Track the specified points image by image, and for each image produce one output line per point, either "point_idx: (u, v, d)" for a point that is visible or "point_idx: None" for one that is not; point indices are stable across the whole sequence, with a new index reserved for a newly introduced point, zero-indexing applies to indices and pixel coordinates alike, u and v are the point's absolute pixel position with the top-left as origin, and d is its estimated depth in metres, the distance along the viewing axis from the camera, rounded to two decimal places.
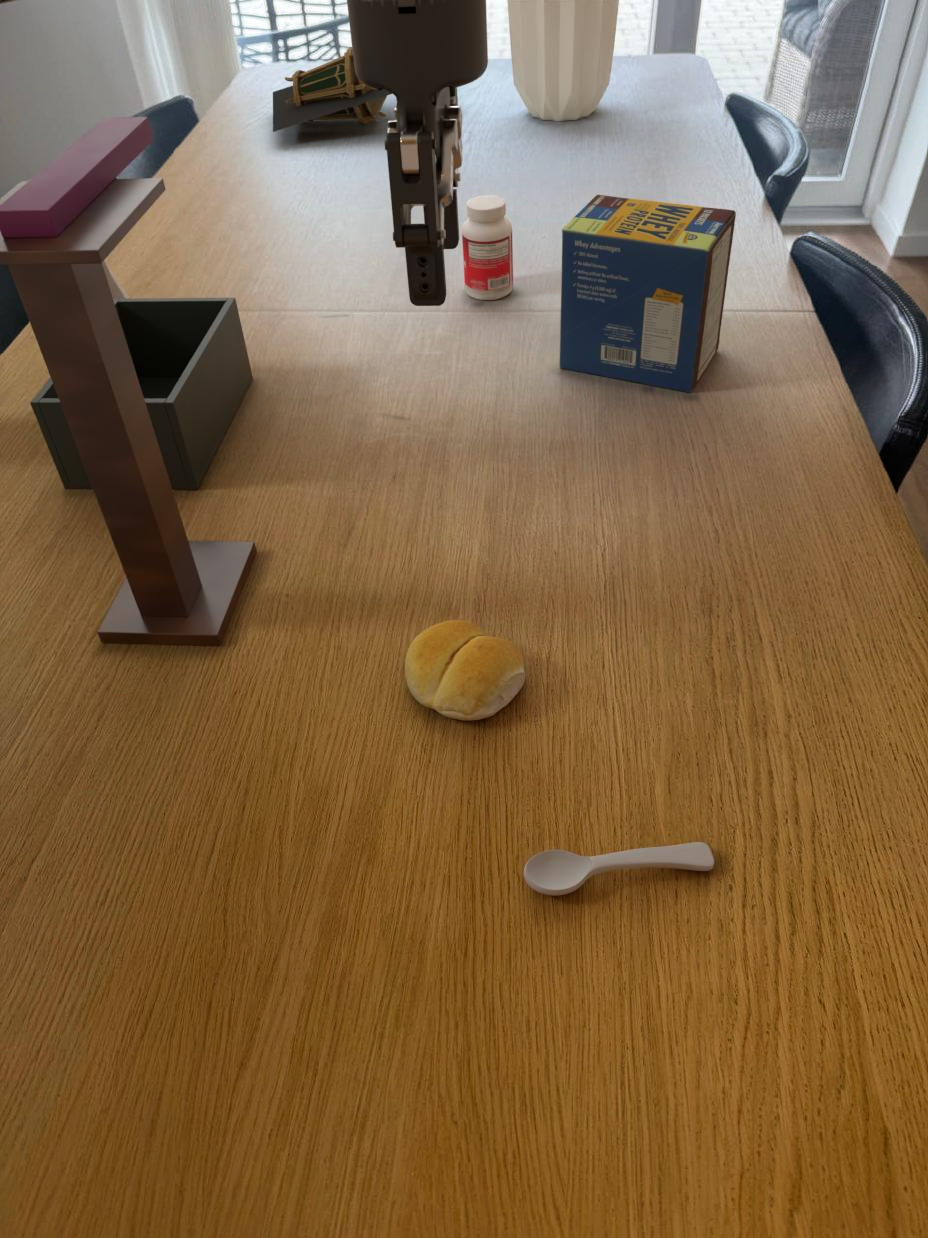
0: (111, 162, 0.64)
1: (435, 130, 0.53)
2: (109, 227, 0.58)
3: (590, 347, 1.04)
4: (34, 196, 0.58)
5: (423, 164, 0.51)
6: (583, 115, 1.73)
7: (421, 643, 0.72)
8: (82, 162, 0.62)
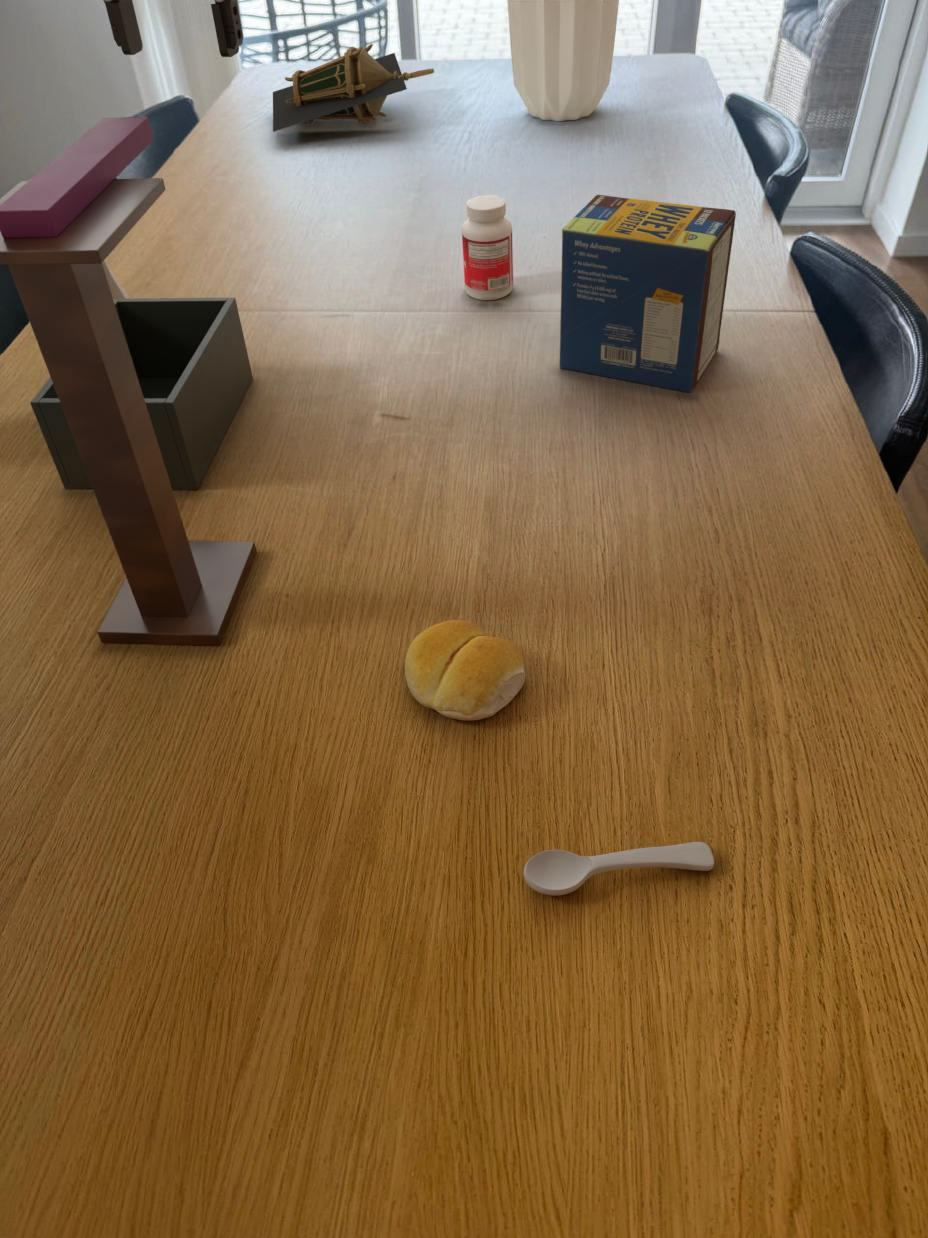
0: (111, 162, 0.64)
1: None
2: (109, 227, 0.58)
3: (590, 347, 1.04)
4: (34, 196, 0.58)
5: None
6: (583, 115, 1.73)
7: (421, 643, 0.72)
8: (82, 162, 0.62)
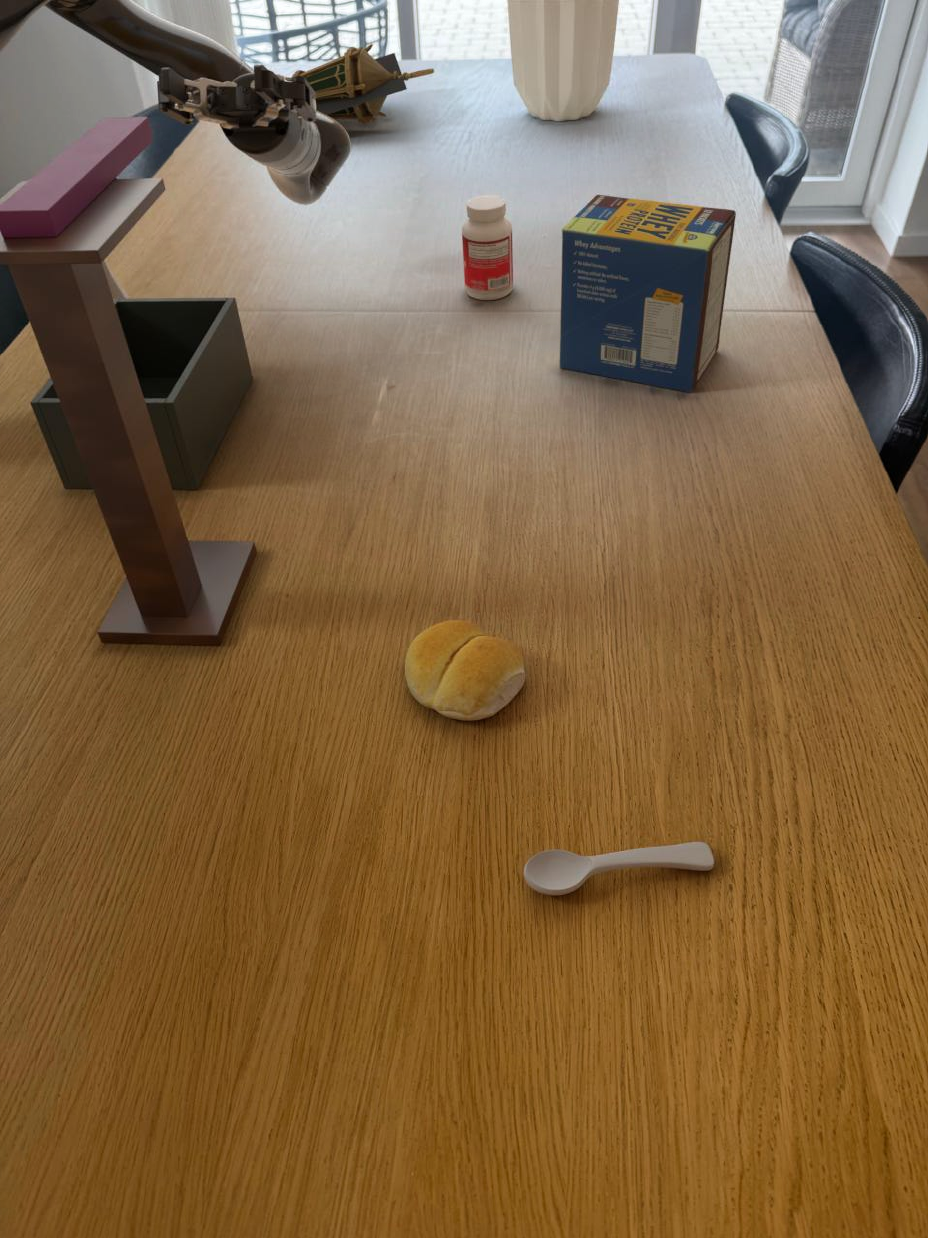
0: (111, 162, 0.64)
1: (285, 118, 0.95)
2: (109, 227, 0.58)
3: (590, 347, 1.04)
4: (34, 196, 0.58)
5: (314, 111, 0.94)
6: (583, 115, 1.73)
7: (421, 643, 0.72)
8: (82, 162, 0.62)
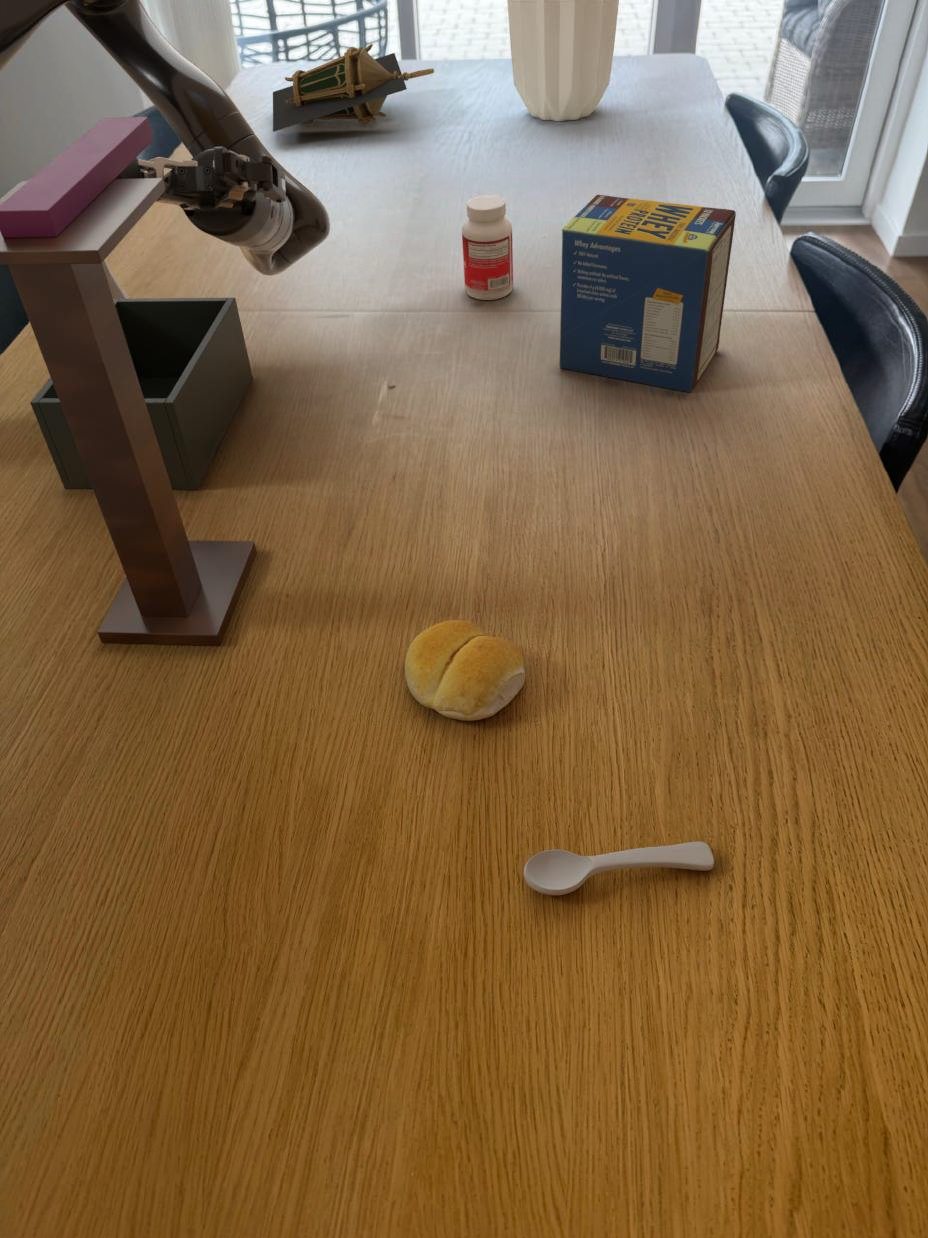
0: (111, 162, 0.64)
1: (251, 199, 0.86)
2: (109, 227, 0.58)
3: (590, 347, 1.04)
4: (34, 196, 0.58)
5: (283, 192, 0.85)
6: (583, 115, 1.73)
7: (421, 643, 0.72)
8: (82, 162, 0.62)
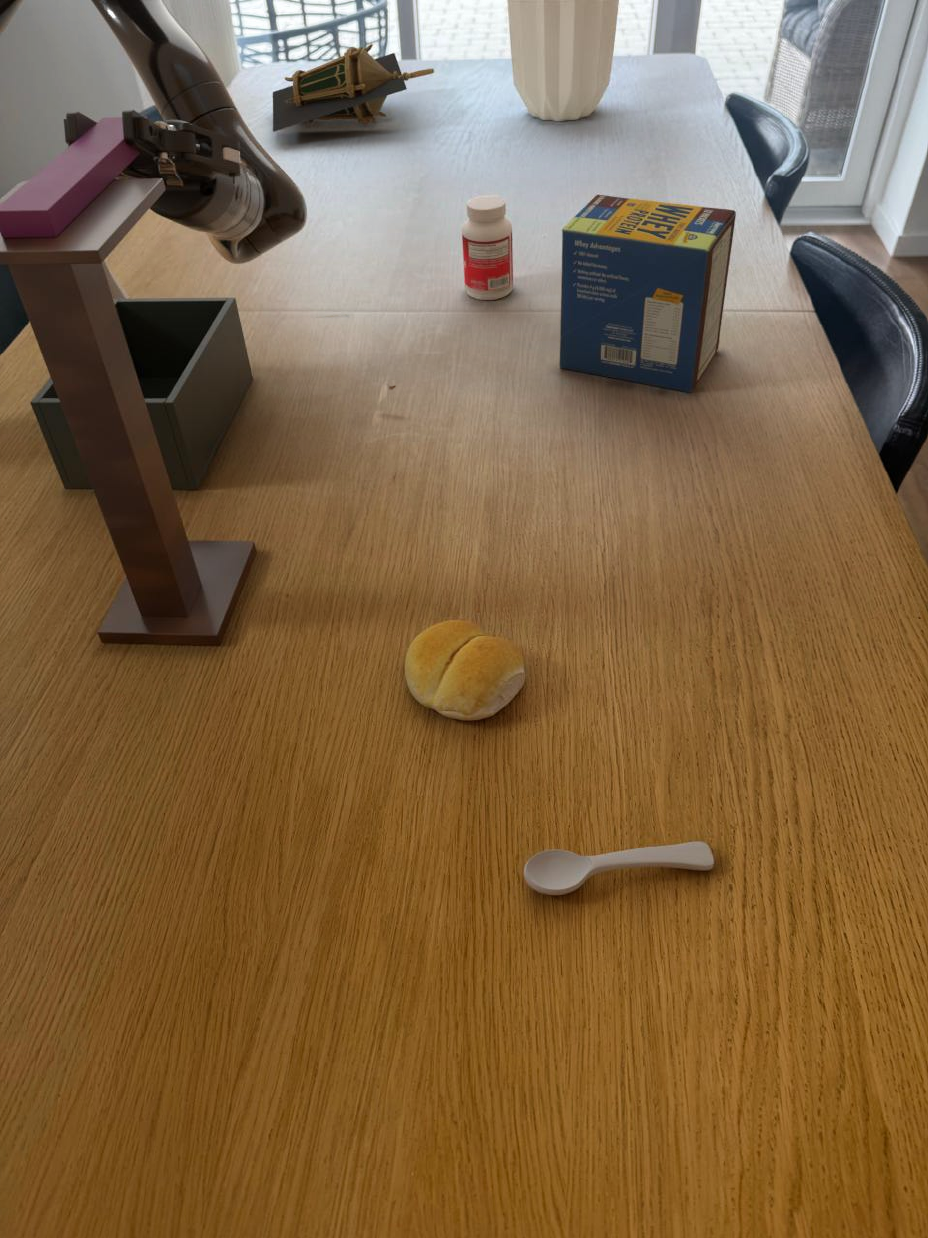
0: (111, 162, 0.64)
1: (210, 176, 0.76)
2: (109, 227, 0.58)
3: (590, 347, 1.04)
4: (33, 196, 0.58)
5: (230, 164, 0.73)
6: (583, 115, 1.73)
7: (421, 643, 0.72)
8: (82, 162, 0.62)
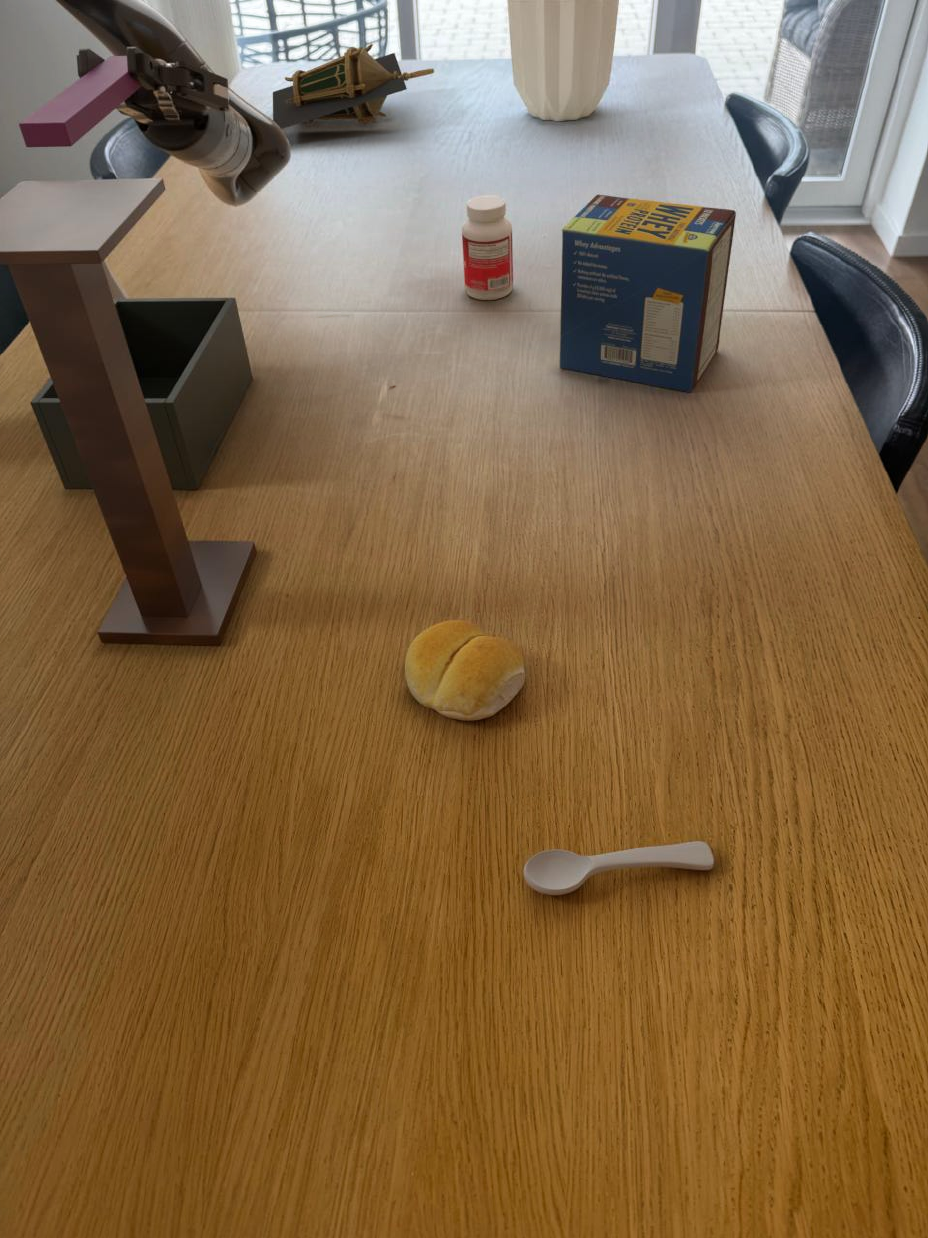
0: (117, 90, 0.75)
1: (203, 111, 0.87)
2: (109, 227, 0.58)
3: (590, 347, 1.04)
4: (52, 113, 0.69)
5: (220, 99, 0.85)
6: (583, 115, 1.73)
7: (421, 643, 0.72)
8: (93, 89, 0.74)
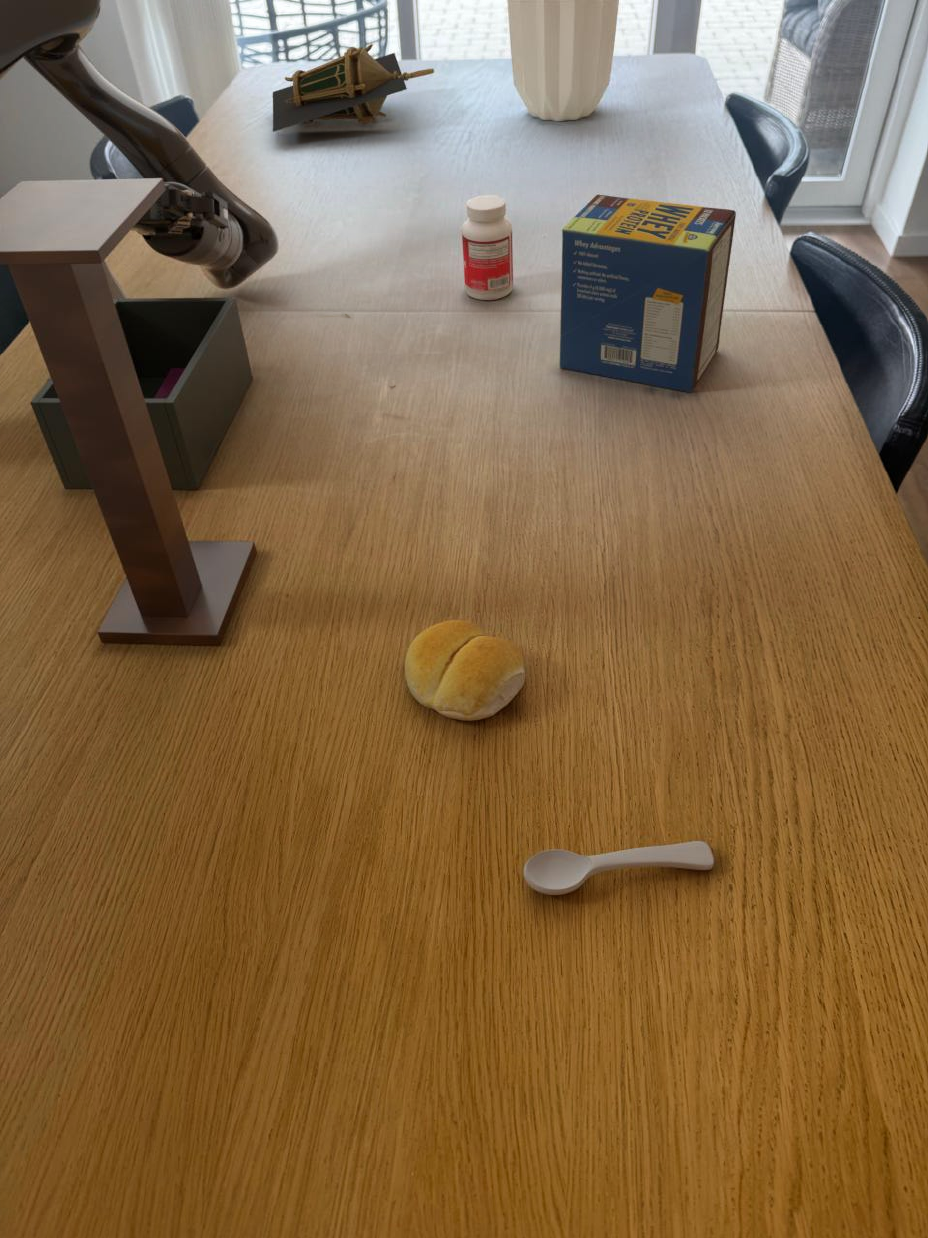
0: None
1: (199, 225, 1.00)
2: (109, 227, 0.58)
3: (590, 347, 1.04)
4: None
5: (225, 220, 0.99)
6: (583, 115, 1.73)
7: (421, 643, 0.72)
8: None
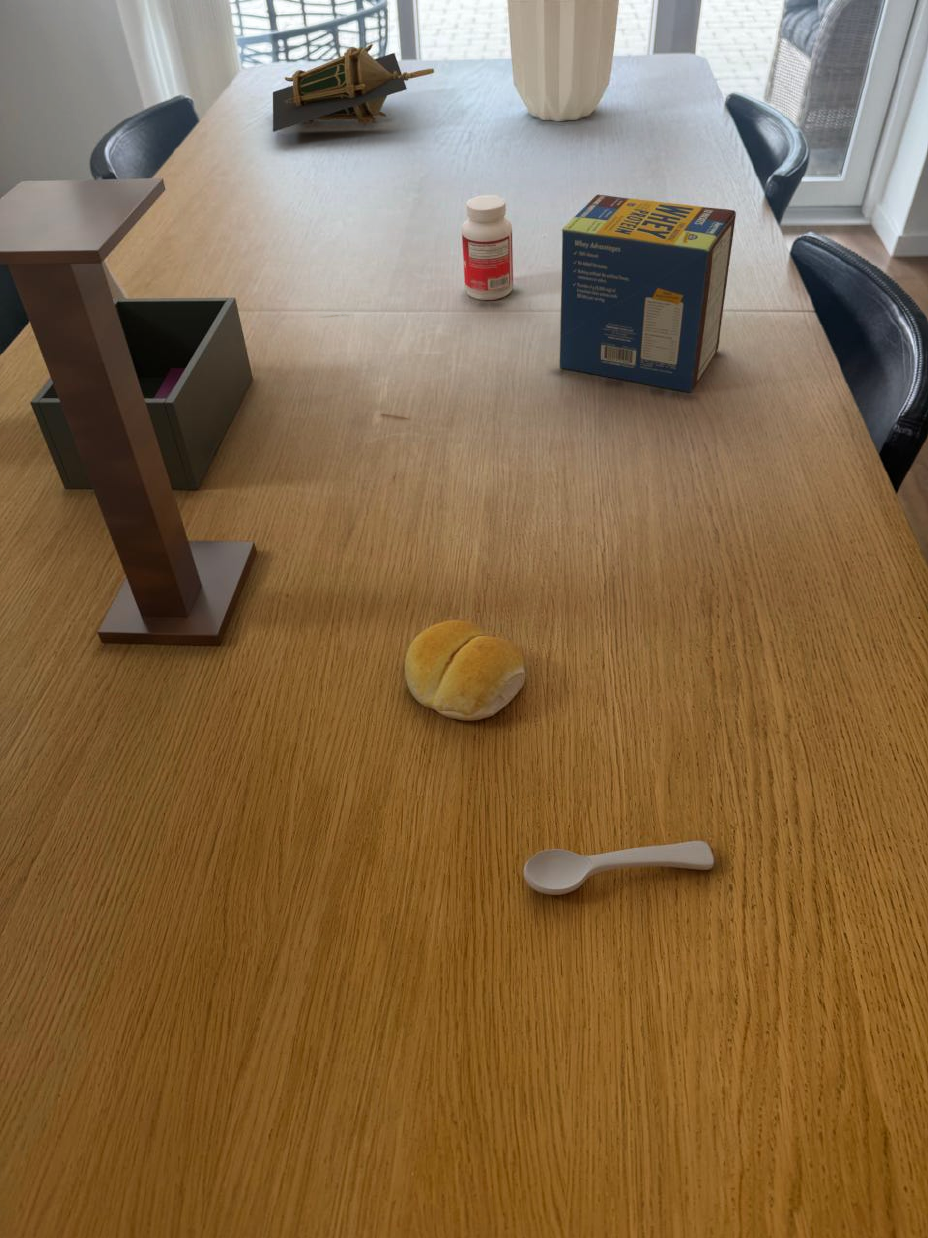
0: None
1: None
2: (109, 227, 0.58)
3: (590, 347, 1.04)
4: None
5: None
6: (583, 115, 1.73)
7: (421, 643, 0.72)
8: None
